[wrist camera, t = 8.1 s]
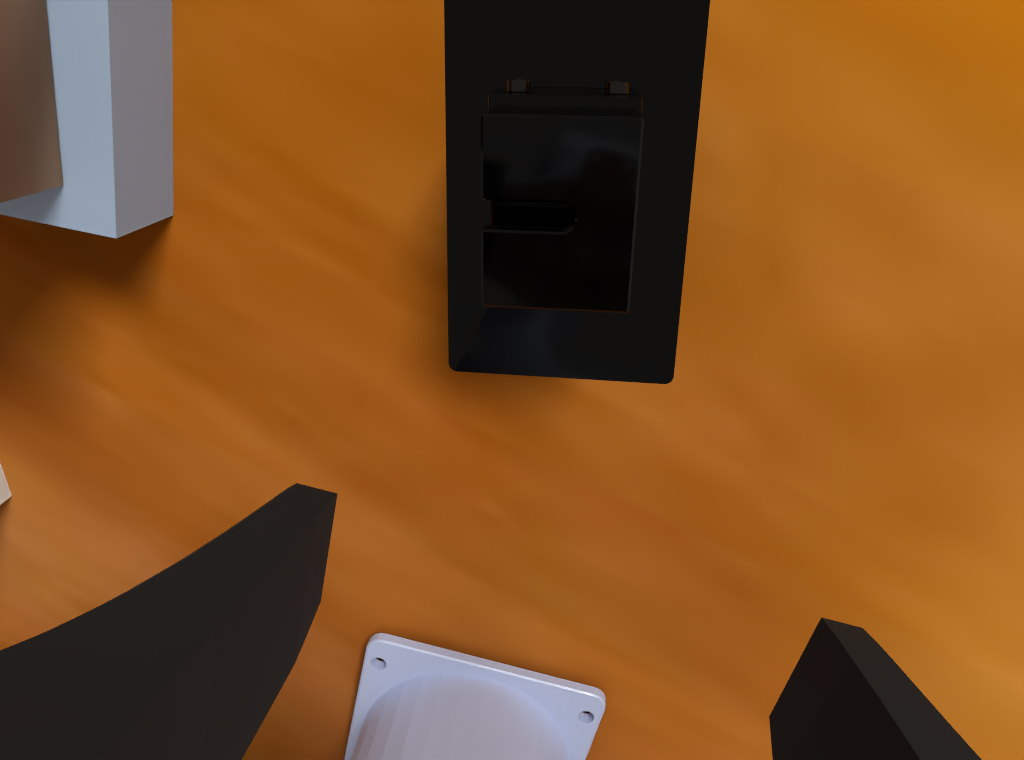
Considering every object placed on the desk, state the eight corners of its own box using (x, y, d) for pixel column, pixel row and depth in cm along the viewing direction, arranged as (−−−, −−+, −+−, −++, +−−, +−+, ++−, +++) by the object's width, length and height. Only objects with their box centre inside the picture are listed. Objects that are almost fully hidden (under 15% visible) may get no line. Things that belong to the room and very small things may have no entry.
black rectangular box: (414, -129, 17) (348, -191, 13) (767, -130, 17) (829, -196, 12) (430, 404, 23) (387, 493, 18) (700, 420, 22) (726, 516, 17)
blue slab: (179, 212, 21) (116, 238, 18) (-70, 161, 21) (-170, 179, 18) (180, -85, 18) (103, -107, 15) (-110, -142, 18) (-236, -173, 15)
